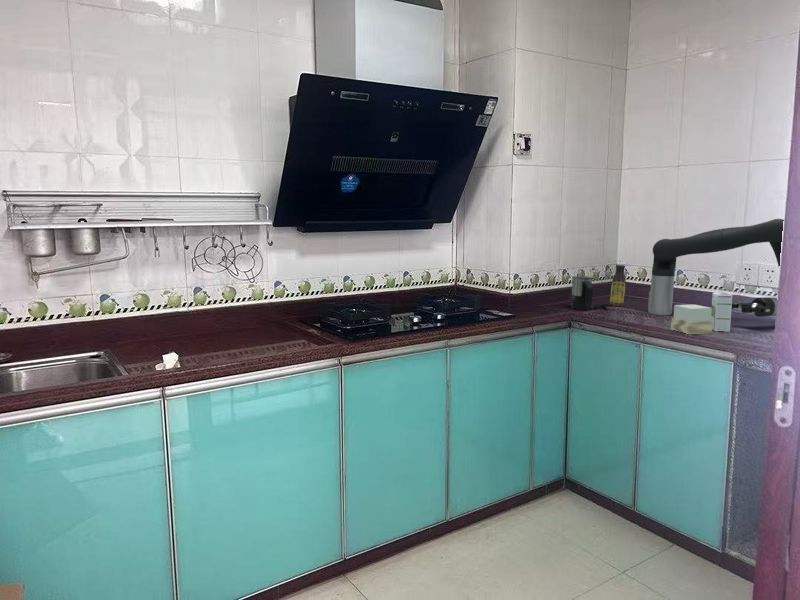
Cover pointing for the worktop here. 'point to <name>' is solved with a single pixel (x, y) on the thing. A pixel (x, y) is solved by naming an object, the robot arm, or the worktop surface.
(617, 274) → the sauce bottle
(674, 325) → the bottom block
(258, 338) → the worktop surface
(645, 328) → the worktop surface
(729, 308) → the syrup box
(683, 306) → the top block
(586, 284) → the milk frother
